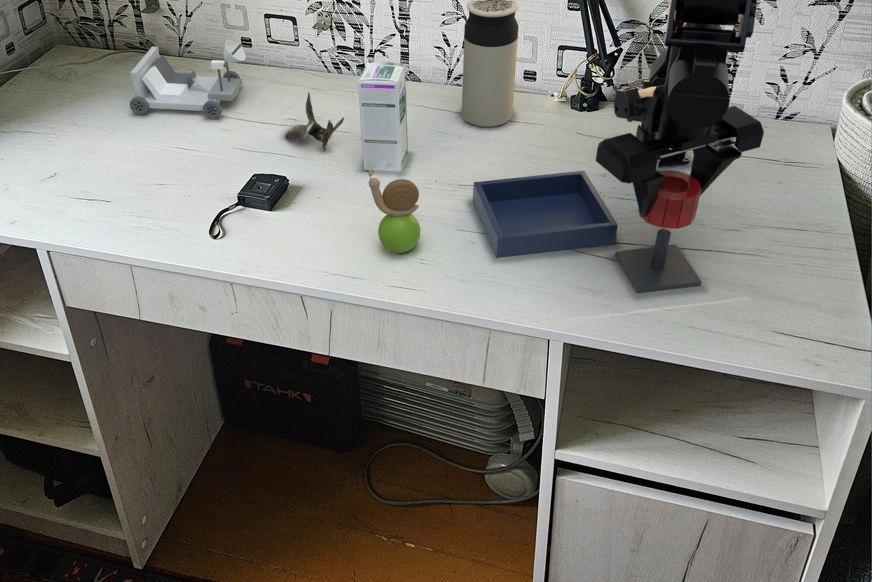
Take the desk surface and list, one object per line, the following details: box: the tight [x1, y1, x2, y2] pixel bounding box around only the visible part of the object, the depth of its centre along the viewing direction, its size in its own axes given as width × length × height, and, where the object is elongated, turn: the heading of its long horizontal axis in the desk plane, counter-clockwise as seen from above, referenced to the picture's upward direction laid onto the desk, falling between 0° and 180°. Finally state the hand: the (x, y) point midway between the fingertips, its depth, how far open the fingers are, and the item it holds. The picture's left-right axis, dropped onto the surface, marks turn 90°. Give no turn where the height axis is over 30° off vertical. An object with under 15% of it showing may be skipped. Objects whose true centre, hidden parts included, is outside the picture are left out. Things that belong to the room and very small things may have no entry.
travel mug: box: [461, 0, 519, 128], centre depth 143 cm, size 8×8×18 cm
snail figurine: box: [367, 169, 421, 254], centre depth 118 cm, size 5×6×12 cm
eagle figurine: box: [284, 91, 345, 152], centre depth 143 cm, size 8×7×9 cm
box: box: [472, 170, 619, 259], centre depth 125 cm, size 16×14×3 cm
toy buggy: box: [129, 39, 247, 120], centre depth 153 cm, size 18×10×12 cm
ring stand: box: [614, 228, 702, 294], centre depth 115 cm, size 8×8×6 cm
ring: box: [637, 169, 701, 230], centre depth 110 cm, size 7×7×4 cm
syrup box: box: [357, 61, 409, 173], centre depth 134 cm, size 6×6×14 cm
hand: (667, 207), depth 111 cm, fingers closed on ring, 6 cm apart
